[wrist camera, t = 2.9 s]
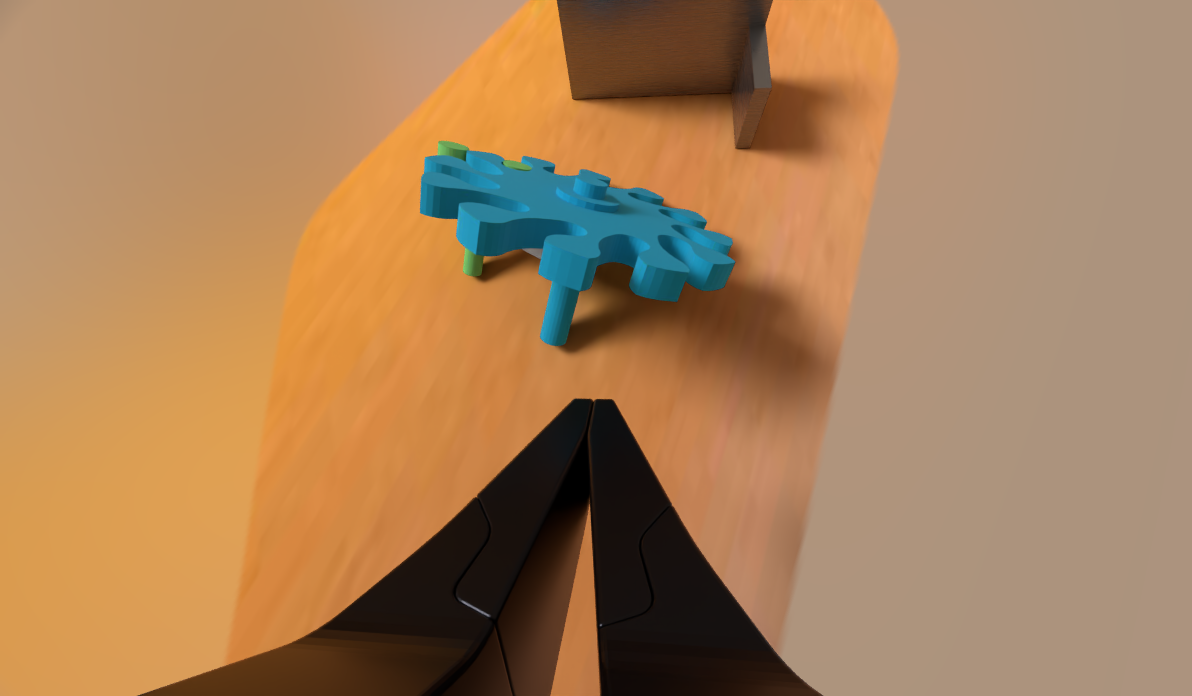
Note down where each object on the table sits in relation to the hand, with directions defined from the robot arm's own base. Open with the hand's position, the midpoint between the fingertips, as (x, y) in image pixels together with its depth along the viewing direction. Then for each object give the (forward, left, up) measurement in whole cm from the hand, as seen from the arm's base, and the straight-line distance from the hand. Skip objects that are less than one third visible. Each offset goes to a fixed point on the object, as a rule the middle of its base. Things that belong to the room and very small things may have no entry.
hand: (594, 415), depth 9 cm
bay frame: (+14, -2, -7) cm, 16 cm away
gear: (+7, +1, -7) cm, 10 cm away
